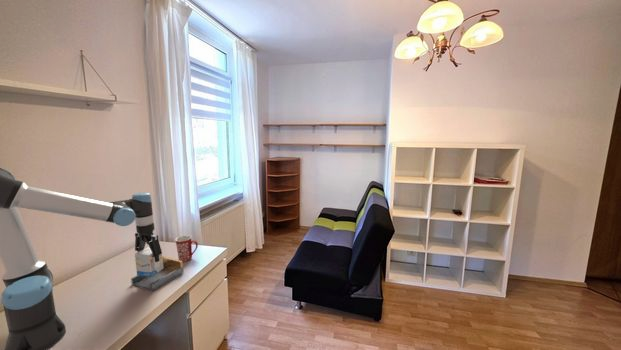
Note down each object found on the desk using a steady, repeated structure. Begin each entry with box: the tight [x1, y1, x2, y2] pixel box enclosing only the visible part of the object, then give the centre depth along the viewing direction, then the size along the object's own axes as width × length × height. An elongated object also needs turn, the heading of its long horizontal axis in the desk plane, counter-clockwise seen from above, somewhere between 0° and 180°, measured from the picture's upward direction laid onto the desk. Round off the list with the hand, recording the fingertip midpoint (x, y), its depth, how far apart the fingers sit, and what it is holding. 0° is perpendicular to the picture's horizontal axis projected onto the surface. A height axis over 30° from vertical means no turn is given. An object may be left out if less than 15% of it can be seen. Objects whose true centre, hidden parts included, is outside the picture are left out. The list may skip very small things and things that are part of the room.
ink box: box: [134, 246, 163, 277], centre depth 128 cm, size 9×8×12 cm
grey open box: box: [130, 255, 184, 292], centre depth 133 cm, size 18×15×7 cm
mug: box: [174, 234, 199, 263], centre depth 154 cm, size 13×9×14 cm
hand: (150, 265), depth 129 cm, fingers closed on ink box, 9 cm apart
